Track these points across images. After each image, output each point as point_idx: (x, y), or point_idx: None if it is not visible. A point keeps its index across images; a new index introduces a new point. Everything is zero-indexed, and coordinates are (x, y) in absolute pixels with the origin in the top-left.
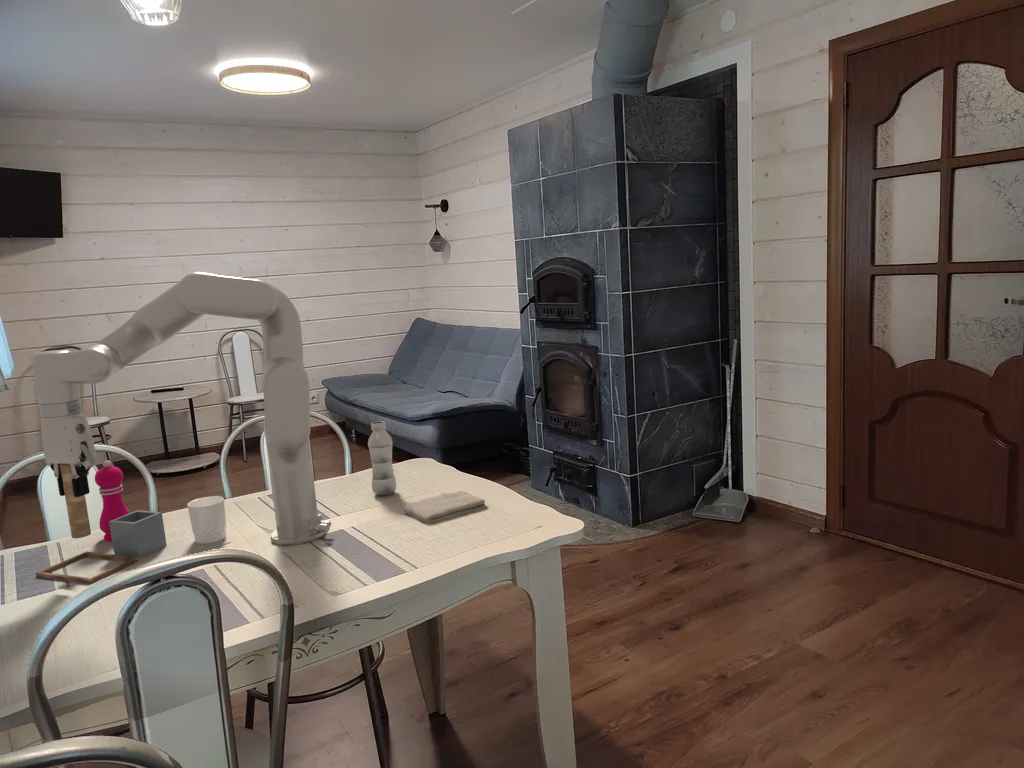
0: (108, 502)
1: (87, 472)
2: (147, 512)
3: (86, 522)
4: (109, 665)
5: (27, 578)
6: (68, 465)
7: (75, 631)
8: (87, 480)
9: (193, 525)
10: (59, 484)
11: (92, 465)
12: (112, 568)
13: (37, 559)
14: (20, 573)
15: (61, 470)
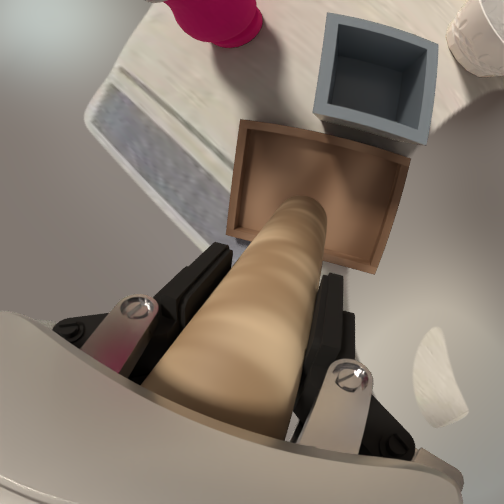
0: (189, 2)
1: (379, 407)
2: (389, 36)
3: (325, 238)
4: (466, 407)
5: (201, 216)
6: None
7: (418, 374)
8: (340, 320)
9: (487, 62)
10: None
11: (443, 471)
12: (388, 219)
13: (145, 137)
14: (169, 196)
15: None
